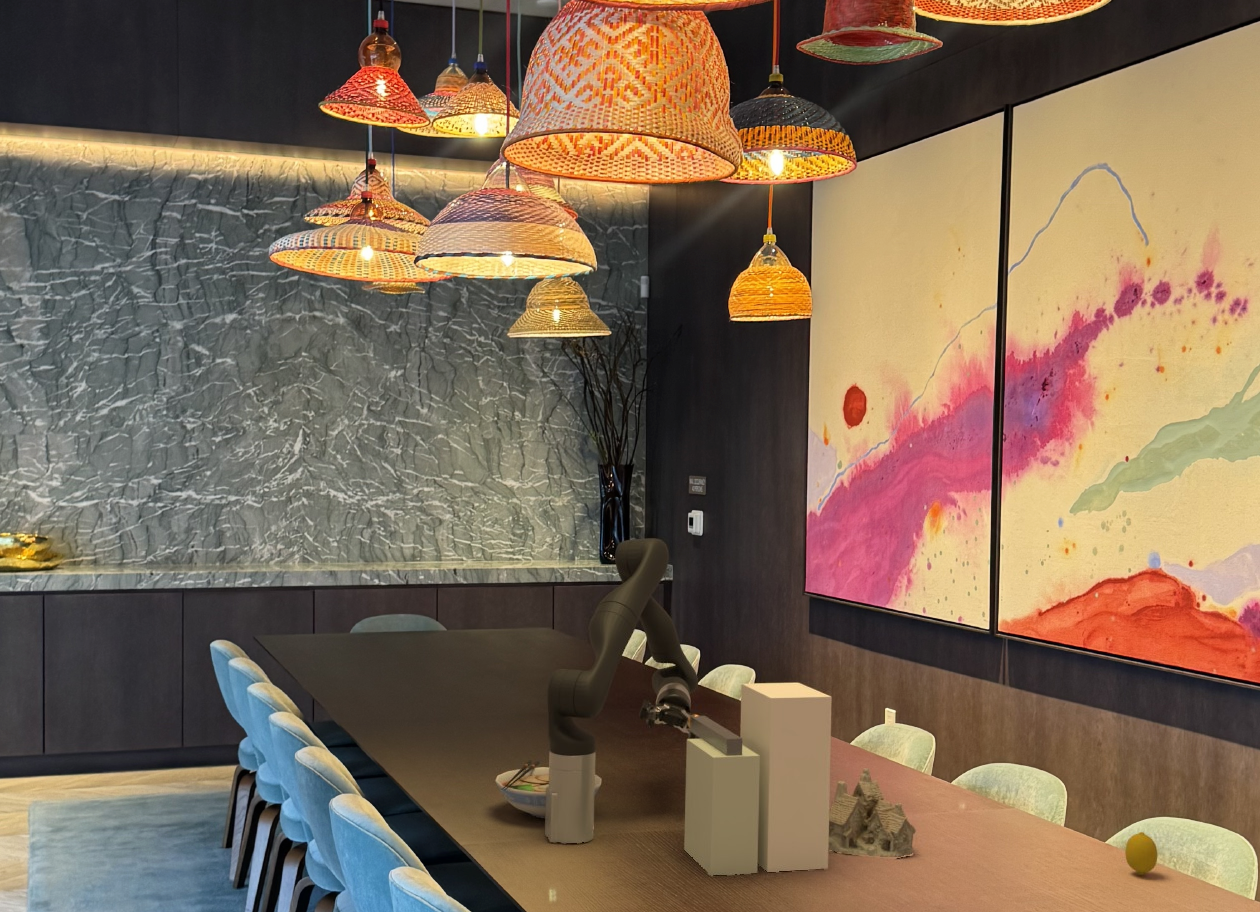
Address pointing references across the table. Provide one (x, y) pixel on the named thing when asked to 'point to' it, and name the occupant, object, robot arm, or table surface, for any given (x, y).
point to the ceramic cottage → (868, 822)
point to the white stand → (790, 772)
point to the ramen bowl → (529, 788)
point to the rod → (715, 735)
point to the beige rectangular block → (722, 809)
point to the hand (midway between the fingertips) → (671, 730)
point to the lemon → (1141, 853)
